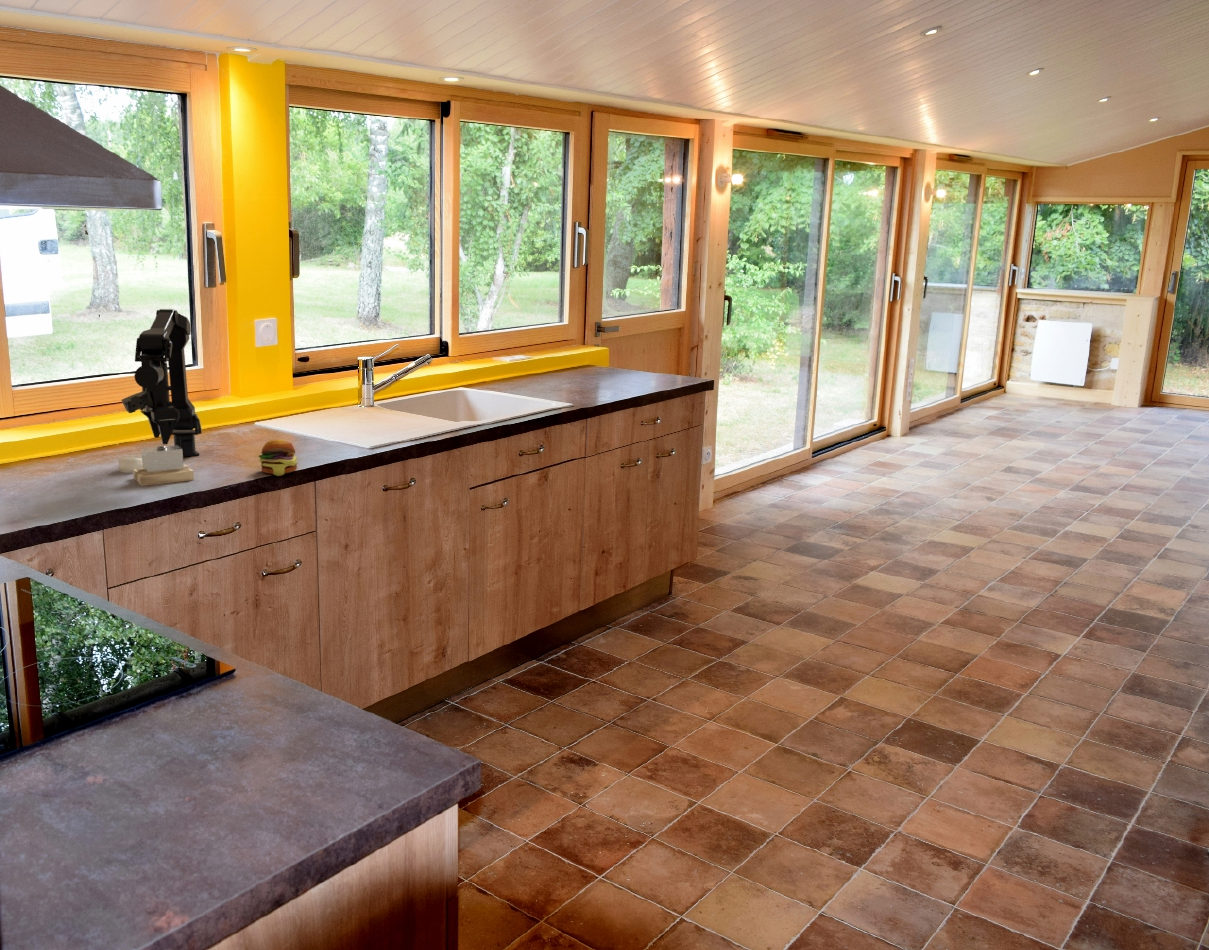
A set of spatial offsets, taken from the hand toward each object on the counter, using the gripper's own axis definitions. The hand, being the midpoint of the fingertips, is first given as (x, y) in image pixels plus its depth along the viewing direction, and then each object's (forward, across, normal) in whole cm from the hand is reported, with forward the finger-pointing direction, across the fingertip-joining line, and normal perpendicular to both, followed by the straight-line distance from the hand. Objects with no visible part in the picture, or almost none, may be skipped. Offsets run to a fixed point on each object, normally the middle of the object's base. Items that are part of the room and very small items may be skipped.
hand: (160, 441), depth 281 cm
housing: (+8, 0, 0) cm, 8 cm away
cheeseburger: (+11, +5, +29) cm, 31 cm away
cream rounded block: (+10, -14, -5) cm, 18 cm away
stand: (+10, 0, 0) cm, 10 cm away
